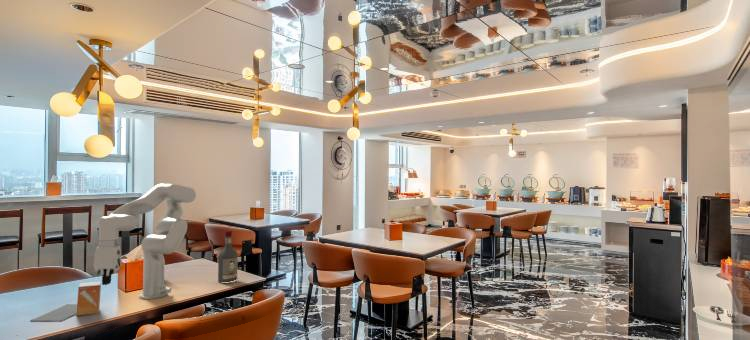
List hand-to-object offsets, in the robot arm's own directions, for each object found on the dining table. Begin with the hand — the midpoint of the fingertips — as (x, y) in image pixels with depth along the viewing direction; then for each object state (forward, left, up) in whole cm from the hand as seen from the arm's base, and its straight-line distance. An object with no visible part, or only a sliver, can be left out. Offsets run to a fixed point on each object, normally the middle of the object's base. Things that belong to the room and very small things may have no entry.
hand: (106, 284), depth 172 cm
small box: (+8, -1, -13) cm, 16 cm away
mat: (+19, -1, -13) cm, 23 cm away
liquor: (-36, -52, -14) cm, 64 cm away
